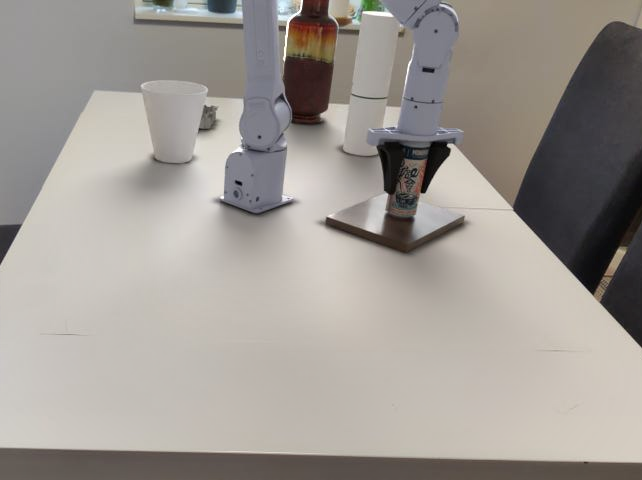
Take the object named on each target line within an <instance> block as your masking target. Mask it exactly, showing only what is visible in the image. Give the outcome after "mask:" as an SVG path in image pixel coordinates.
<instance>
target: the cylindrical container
mask: <svg viewBox="0 0 642 480" xmlns="http://www.w3.org/2000/svg"><path fill="white" fill-rule="evenodd" d="M359 25H360V26H359V34H358V38H357V47H356V54H355V59H354V68H353V74H352V81H351V82H352V83H351V89H350V97H349V101H348V102H349V103H348V111H347V118H346V125H345V130H344V139H343V146H342V150H343V151H344V152H345V153H347V154H350V155H354V156H361V157H362V156H363V157H371V156H377V155H379V153H378V151H377V148H376V146H371V145H370V144H368V143H367V142H366V140H367V134H368V129H378V128H384V122H385V116H386V110H387V103H388V97H389V92H390V86H391V80H392V75H393V68H394V62H395V57H396V50H397V45H398V39H399V33H400V32H399V31H400V26H401V24H400V23H399V22H398V21H397V20H396V19H395V17H394V16H393V15H392V14H391V13H390V12H386V11H374V10H373V11H371V10H369V11H367V10H365V11H362V12H361V18H360V24H359Z"/></svg>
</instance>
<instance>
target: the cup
mask: <svg viewBox="0 0 642 480" xmlns="http://www.w3.org/2000/svg"><path fill="white" fill-rule="evenodd" d="M139 87H140V91H141V94H142V100H143V104H144V105H143V106H144V109H145V114H146V119H147V125H148V129H149V135H150V140H151V144H152V149H153V155H154V158H155V159H156V161H160V162H163V163H166V164H167V163H168V164H181V163H182V164H183V163H188V162H190V161H191V160H192V159H193V156H194V150H195V147H196V143H197V137H198V133H199V129H200V128H199V125H200V121H201V116H202V112H203V108H204V105H205V103H206V98H207V94H208V92H209V89H208V88H207V86H205V85H203V84H201V83H196V82H192V81H184V80H171V79H167V80H166V79H164V80H163V79H162V80H152V81H151V80H150V81H146V82H143V83H142V84H141V85H140V86H139Z"/></svg>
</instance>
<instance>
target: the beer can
mask: <svg viewBox="0 0 642 480" xmlns="http://www.w3.org/2000/svg"><path fill="white" fill-rule="evenodd" d="M430 145H431V143H430V141H428V142H421V141H409V140H406V141H402V142H401V144H400V146H399V147H401V150H402V151H403V152H405V153H406V155H405V157H404V159H403V161H402V164H401V167H400V170H399V173H398V177H397V183H396V188H395V192H394V194H393V195H389V194H388V198H387V203H386V208H385V210H386V212H388V213H389V214H390V215H391V216H393V217H397V218H410V217H412V216H414V215H416V211H417V206H418V201H420V195H421V193H420V191H421V187H422V182H423V177H424V172H425V167H426V163H427V158H428V153H429V148H430Z"/></svg>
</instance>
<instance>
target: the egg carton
mask: <svg viewBox="0 0 642 480" xmlns="http://www.w3.org/2000/svg"><path fill="white" fill-rule="evenodd" d="M218 109H219V105H216V106H215V105H210V106H208V105H207V104H204V108H203V112H202V116H201V121H200V125H199V129H202V130H204V129H205V130H206V129H212V126H213V125H214V122H216V119H217V111H218Z"/></svg>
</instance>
